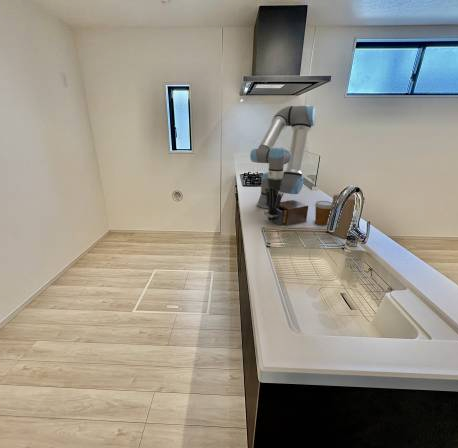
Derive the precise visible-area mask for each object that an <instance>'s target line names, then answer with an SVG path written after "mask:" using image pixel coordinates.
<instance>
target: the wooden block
mask: <svg viewBox="0 0 458 448" xmlns="http://www.w3.org/2000/svg"><path fill="white" fill-rule="evenodd" d="M339 194H340V193H338V194H337V193H336V194H333V197H332V202H331V203H332V207H331V210H332V208H333V205H334V204H335V201H336V199H337V198H338V196H339ZM352 194H353V195H351V196H350V198H349V199H348V200H347V202H346V204H345V205H344V207H343V209H342V212H341V215H340V218H339V221H338V227H337V230H336V231H334V232H329V231H328V230H327V229H326V232H328V233H330V234H332V235H334V236H336V237H339V238H341V239H347V238H348V237H347V233H348V230H349V228H350V225H351V222H352V218H353V211H354V205H355V195H356V194H354V193H352ZM362 197H363V200H364V201H363V205H364V203H365V200H366V198H365V197H366V196H362Z"/></svg>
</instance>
